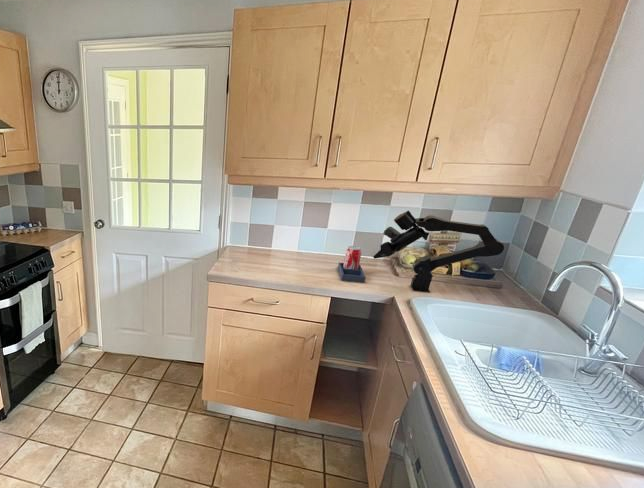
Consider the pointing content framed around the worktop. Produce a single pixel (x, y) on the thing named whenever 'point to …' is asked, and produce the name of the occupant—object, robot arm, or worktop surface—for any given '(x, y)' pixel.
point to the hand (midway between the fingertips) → (377, 255)
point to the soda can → (352, 258)
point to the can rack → (351, 274)
